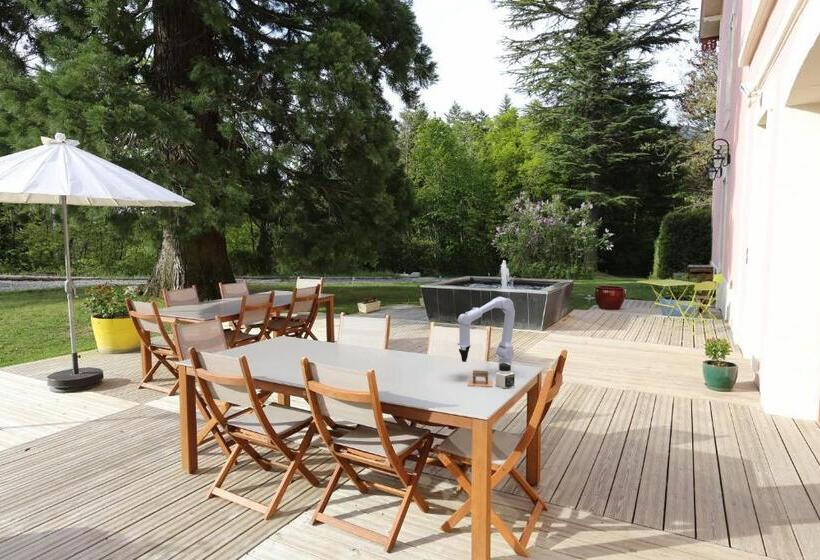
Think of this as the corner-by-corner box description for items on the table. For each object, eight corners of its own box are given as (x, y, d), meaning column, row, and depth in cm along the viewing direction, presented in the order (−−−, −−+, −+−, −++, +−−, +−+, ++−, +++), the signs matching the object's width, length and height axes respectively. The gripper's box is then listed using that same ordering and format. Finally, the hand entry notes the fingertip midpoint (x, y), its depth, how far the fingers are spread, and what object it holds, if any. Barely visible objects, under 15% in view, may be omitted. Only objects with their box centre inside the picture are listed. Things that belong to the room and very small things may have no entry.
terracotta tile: (468, 380, 289) (468, 379, 289) (492, 381, 287) (492, 380, 287) (467, 386, 278) (467, 385, 278) (492, 387, 276) (492, 386, 276)
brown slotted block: (473, 381, 285) (473, 370, 285) (488, 381, 284) (488, 370, 283) (472, 383, 280) (472, 372, 280) (487, 384, 279) (487, 373, 279)
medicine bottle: (505, 389, 273) (505, 366, 272) (495, 385, 278) (495, 363, 277) (514, 386, 277) (514, 364, 276) (504, 383, 283) (504, 361, 281)
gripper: (458, 333, 298) (458, 356, 300) (456, 338, 284) (456, 363, 285) (471, 333, 297) (471, 357, 298) (469, 338, 283) (469, 363, 284)
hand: (464, 360), depth 292 cm, fingers open, 7 cm apart
